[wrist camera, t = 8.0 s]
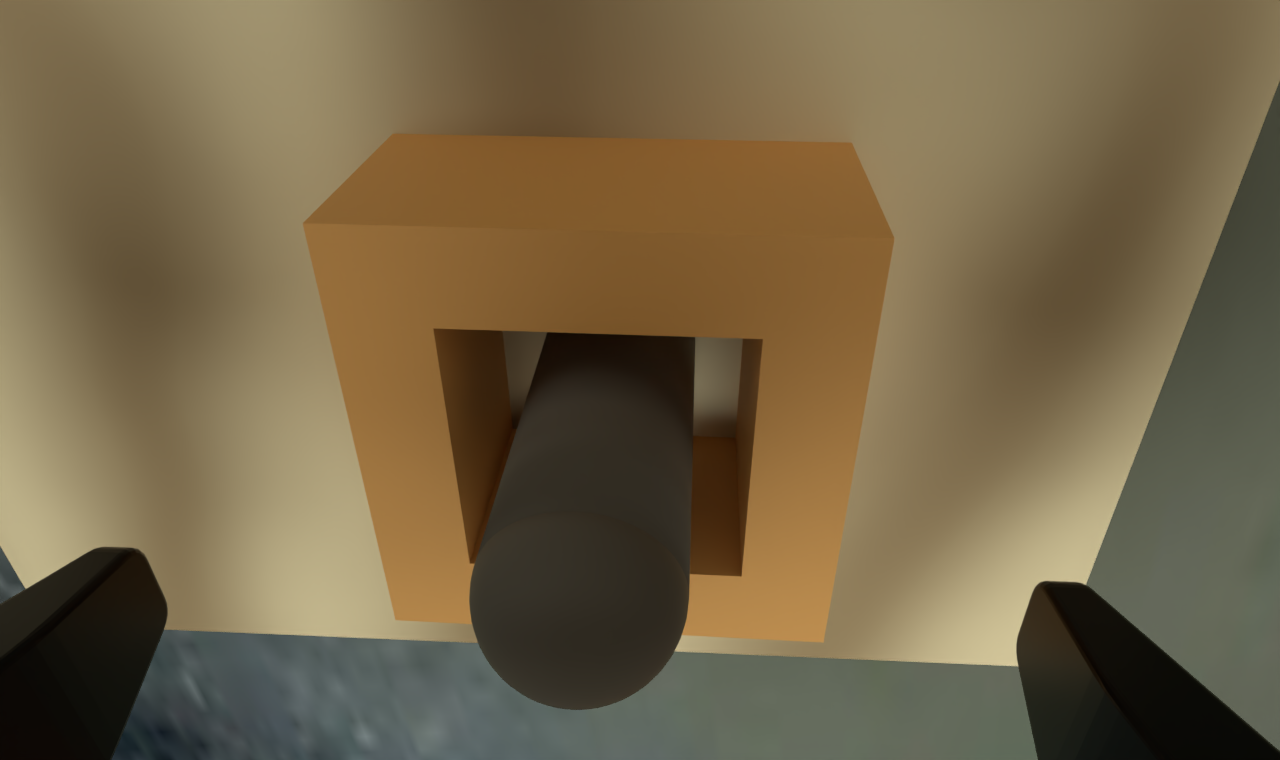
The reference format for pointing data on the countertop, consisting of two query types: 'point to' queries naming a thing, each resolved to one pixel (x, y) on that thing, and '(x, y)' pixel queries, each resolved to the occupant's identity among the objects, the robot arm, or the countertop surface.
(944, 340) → the keeper board
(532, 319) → the ring
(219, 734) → the countertop surface
